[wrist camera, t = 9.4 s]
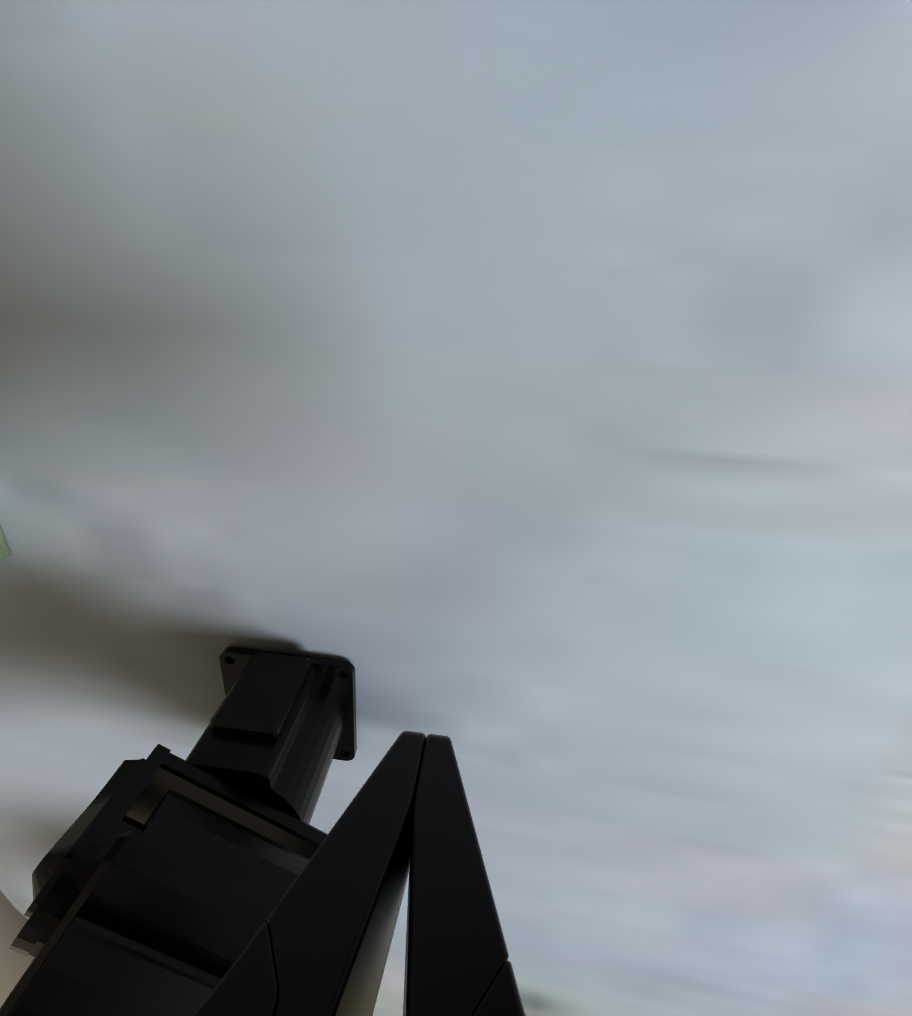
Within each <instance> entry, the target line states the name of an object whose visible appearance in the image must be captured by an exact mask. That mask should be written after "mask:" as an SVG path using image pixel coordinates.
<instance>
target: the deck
mask: <svg viewBox="0 0 912 1016" xmlns="http://www.w3.org/2000/svg"><path fill="white" fill-rule="evenodd" d="M9 554H10V552H9V549H8V547H7V544H6V541H5V538H4V536H3V533H2V530H1V528H0V560H1V559H3V558H4V557H6V556H8V555H9Z"/></svg>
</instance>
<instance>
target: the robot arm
mask: <svg viewBox="0 0 912 1016" xmlns="http://www.w3.org/2000/svg"><path fill="white" fill-rule="evenodd" d="M231 657H232V658H231ZM220 665H221V670H222V676H223V682H224V688H225V693H226V697H225V699H224V700H223V702H222V703H221V705H220V706H219V708H218V709H217V711H216V712H215V714H214V715H213V717H212V718H211V721H210V724H209V725H208V727H207V728H206V730H205V731H204V733H203V734H202V736H201V737H200V739H199V741H198V742H197V744H196V745H195V747H194V748H193V750H192V751H191V753H190V754H189V756H188V757H187V759H186V760H183V759H181V758H179V757H177V756H175V755H173V754H171V753H169V752H170V751H171V750H170V749H168V748H166V747H164V746H162V745H160V744H158V745H157V746H156V747H155V749H154V750H153V751H152V753H151V754H150V755H149V757H148V758H147V759H146V760H145V759H143V758H142V759H140V760H125V761H124V762H123V763H122V765H121V766H120V767H119V768H118V770H117V771H116V772H115V774H114V775H113V776H112V777H111V779H110V780H109V781H108V783H107V784H106V785H105V786H104V788H103V789H102V790H101V791H100V793H99V794H98V795H97V796H96V798H95V799H94V800H93V801H92V803H91V804H90V805H89V806H88V807H87V808H86V810H85V811H84V812H83V813H82V814H81V815H80V817H79V818H78V819H77V820H76V821H75V822H74V823H73V825H72V826H71V827H70V828H69V829H68V830H67V831H66V833H65V834H64V835H63V836H62V837H61V838H60V839H59V841H58V842H57V843H56V844H55V845H54V846H53V848H52V849H51V850H50V851H49V852H48V853H47V854H46V856H45V857H44V858H43V860H42V861H41V862H40V863H39V865H38V866H37V868H36V869H35V870H34V872H33V873H32V884H33V902H32V904H31V905H30V907H29V908H28V910H27V911H26V913H25V914H24V916H27V917H29V920H28V921H27V923H26V924H25V925H24V927H23V928H22V930H21V931H20V933H19V934H18V936H17V937H16V939H15V940H14V941H13V943H12V945H11V946H10V948H9V949H11V950H14V951H16V952H19V953H21V954H24V955H26V956H28V955H30V956H33V957H35V958H34V960H33V961H32V962H31V964H30V966H29V967H28V968H27V970H26V971H25V973H24V974H23V976H22V977H21V979H20V980H19V982H18V983H17V984H16V986H15V987H14V989H13V990H12V992H11V993H10V994H9V996H8V997H7V999H6V1000H5V1002H4V1003H3V1005H2V1006H1V1008H0V1016H372V1015H373V1011H374V1007H375V1003H376V999H377V995H378V991H379V988H380V984H381V980H382V976H383V972H384V968H385V964H386V960H387V956H388V953H389V949H390V945H391V941H392V937H393V933H394V929H395V925H396V921H397V917H398V914H399V910H400V906H401V902H402V898H403V894H404V890H405V886H406V882H407V877H408V873H409V888H408V910H407V934H406V957H405V981H404V1005H403V1016H526V1015H525V1012H524V1008H523V1005H522V1002H521V998H520V995H519V991H518V987H517V984H516V980H515V976H514V973H513V969H512V965H511V963H510V962H509V961H508V957H509V955H508V951H507V947H506V944H505V940H504V936H503V933H502V929H501V925H500V921H499V918H498V914H497V910H496V906H495V903H494V899H493V895H492V891H491V888H490V884H489V880H488V876H487V873H486V869H485V865H484V862H483V858H482V854H481V850H480V847H479V843H478V839H477V835H476V832H475V828H474V824H473V820H472V817H471V813H470V809H469V806H468V802H467V798H466V794H465V791H464V787H463V783H462V779H461V776H460V772H459V768H458V764H457V761H456V757H455V753H454V749H453V746H452V742H451V740H450V738H449V737H448V736H442V735H434V734H429V735H428V736H427V737H426V736H425V734H423V733H419V732H412V731H404V732H402V733H401V734H400V736H399V737H398V738H397V740H396V741H395V743H394V744H393V745H392V747H391V748H390V749H389V751H388V752H387V754H386V755H385V756H384V758H383V759H382V760H381V762H380V763H379V765H378V766H377V767H376V769H375V770H374V772H373V773H372V774H371V776H370V777H369V778H368V780H367V781H366V783H365V784H364V785H363V787H362V788H361V790H360V791H359V792H358V794H357V795H356V796H355V798H354V799H353V801H352V802H351V803H350V805H349V806H348V807H347V809H346V810H345V812H344V813H343V814H342V816H341V817H340V819H339V820H338V821H337V823H336V824H335V825H334V827H333V828H332V830H331V831H330V832H329V834H326V833H324V832H323V831H321V830H319V829H317V828H315V827H313V826H311V825H309V823H310V820H311V818H312V815H313V812H314V809H315V806H316V804H317V801H318V798H319V795H320V792H321V790H322V787H323V784H324V781H325V779H326V776H327V773H328V770H329V767H330V765H331V762H332V759H338V760H345V761H349V760H352V759H353V758H354V756H355V753H356V749H357V741H356V691H355V668H354V666H353V665H352V664H351V663H349V662H347V661H341V660H334V659H326V658H318V657H310V656H302V655H294V654H286V653H278V652H270V651H262V650H254V649H246V648H239V647H227V648H226V649H225V650H224V651H223V653H222V654H221V655H220ZM342 671H344V672H346V673H344V672H342ZM409 867H410V870H409Z"/></svg>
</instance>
